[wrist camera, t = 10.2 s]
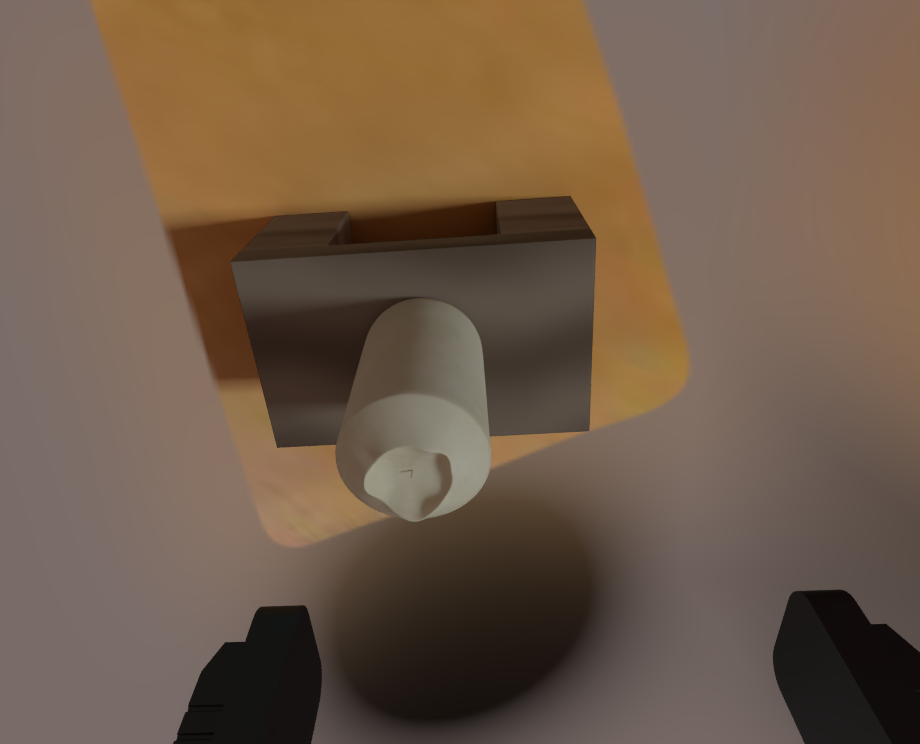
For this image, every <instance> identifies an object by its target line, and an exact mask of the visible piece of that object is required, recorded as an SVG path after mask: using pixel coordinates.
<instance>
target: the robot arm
mask: <svg viewBox="0 0 920 744" xmlns="http://www.w3.org/2000/svg"><path fill="white" fill-rule="evenodd" d="M773 665H774V671H775V676H776V680H777V683H778V686H779V688H780V691H781V693H782V695H783V697H784V700H785V702H786V704H787V706H788V708H789V710H790V712H791V715H792V717H793V719H794V721H795V723H796V726H797V728H798V730H799V732H800V734H801V736H802V738H803V741H804V743H805V744H920V652H919V651H918V650H916V649H915V648H914V647H913V646H912V645H910V644H909V643H908V642H907V641H906V640H905V639H903V638H902V637H901V636H900V635H899V634H897V633H896V632H895V631H894V630H893V629H892V628H890V627H889V626H888V625H887V624H870V622H869V621H868V619H867V618H866V616H865V614H864V613H863V611H862V610H861V608H860V607H859V606H858V604H857V602H856V601H855V600H854V598H853V597H852V596H851V595H850V594H849V593H848V592H846V591H844V590H817V591H816V590H814V591H795V592H793V593H792V594H791V595H790V597H789V600H788V603H787V607H786V610H785V613H784V616H783V620H782V623H781V626H780V630H779V633H778V636H777V639H776V643H775V646H774V650H773ZM321 686H322V668H321V660H320V657H319V652H318V648H317V645H316V641H315V636H314V632H313V629H312V625H311V621H310V617H309V613H308V610H307V608H306V606H304V605H299V606H270V607H260V608H259V609H258V610H257V611H256V613H255V615H254V618H253V621H252V624H251V626H250V629H249V632H248V635H247V638H246V641H245V642H225V643H224V645H223V646H222V647H221V648H220V649H219V651H218V652H217V653H216V654H215V656H214V657H213V658H212V659H211V661H210V662H209V663H208V664H207V665H206V667H205V668H204V669H203V670H202V672H201V674H200V676H199V679H198V682H197V684H196V687H195V689H194V692H193V695H192V697H191V700H190V702H189V705H188V712H186V713H185V715H184V717H183V720H182V723H181V725H180V728H179V730H178V733H177V735H178V736H177V740H176V741H174V743H173V744H311V741H312V736H313V731H314V727H315V722H316V717H317V712H318V707H319V702H320V695H321Z"/></svg>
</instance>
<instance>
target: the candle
mask: <svg viewBox="0 0 920 744" xmlns="http://www.w3.org/2000/svg"><path fill="white" fill-rule="evenodd" d="M336 463H337V468H338V471H339V474H340V476H341V478H342V480H343V482H344V483H345V485H346V486H347V488H348V489H349V490H350V491H351V492H352V493H353V494H354V495H355V496H356V497H357V498H358V499H359V500H360V501H362V502H363V503H365V504H366V505H368V506H369V507H371V508H373V509H375V510H377V511H379V512H382V513H385V514H388V515H391V516H395V517H400V518H404V519H406V520H409V521H412V522H415V521H420V520H423V519H425V518H430V517H436V516H440V515H443V514H446V513H449V512H451V511H454V510H456V509H458V508H459V507H461V506H463V505H464V504H466V503H467V502H468V501H470V500H471V499H472V498H473V497H474V496H475V495H476V494H477V493H478V492H479V490H480V489H481V487H482V486H483V485H484V483H485V481H486V479H487V476H488V474H489V470H490V465H491V448H490V435H489V423H488V410H487V398H486V386H485V373H484V361H483V351H482V345H481V340H480V337H479V334H478V332H477V330H476V328H475V326H474V325H473V323H472V322H471V321H470V319H469V318H468V317H467V316H466V315H465V314H464V313H463V312H462V311H460V310H459V309H458V308H456V307H454V306H453V305H451V304H448V303H446V302H443V301H440V300H437V299H431V298H414V299H409V300H405V301H402V302H399V303H397V304H395V305H393V306H391V307H390V308H388V309H386V310H385V311H384V312H383V313H382V314H381V315H380V316H379V317H378V318H377V319H376V321H375V322H374V323H373V325H372V326H371V328H370V330H369V332H368V335H367V338H366V341H365V344H364V348H363V351H362V355H361V358H360V362H359V365H358V369H357V372H356V376H355V379H354V383H353V386H352V390H351V394H350V397H349V401H348V404H347V408H346V411H345V415H344V418H343V422H342V425H341V429H340V433H339V436H338V440H337V444H336Z"/></svg>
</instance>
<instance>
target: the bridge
mask: <svg viewBox="0 0 920 744" xmlns="http://www.w3.org/2000/svg"><path fill="white" fill-rule="evenodd" d="M496 221H497V235H482V236H466V237H451V238H436V239H420V240H405V241H390V242H374V243H359V244H353V242H352V236H351V229H350V223H349V216H348V211H345V212H330V213H315V214H300V215H285V216H274V217H273V219H272V220H271V221H270V222H269V223H268V224H267V225H266V226H265V227H264V228H263V229H262V230H261V231H260V232H259V233H258V234H257V235H256V236H255V237H254V238H253V239H252V240H251V241H250V242H249V243H248V244H247V245H246V246H245V247H244V248H243V249H242V250H241V251H240V252H239V253H238V255H237V256H236V257H235V258H234V259H233V260H232V261H231V262H230V263H231V267H232V271H233V275H234V279H235V283H236V287H237V291H238V295H239V299H240V303H241V307H242V311H243V315H244V318H245V322H246V326H247V330H248V334H249V338H250V342H251V346H252V350H253V354H254V358H255V362H256V366H257V370H258V374H259V378H260V382H261V386H262V389H263V393H264V397H265V401H266V405H267V409H268V413H269V417H270V421H271V425H272V429H273V433H274V437H275V441H276V445H277V448H280V447H299V446H317V445H336V444H337V440H338V436H339V433H340V429H341V425H342V422H343V418H344V415H345V411H346V408H347V404H348V401H349V397H350V394H351V390H352V386H353V383H354V379H355V376H356V372H357V369H358V365H359V362H360V358H361V355H362V351H363V348H364V344H365V341H366V338H367V335H368V332H369V330H370V328H371V326H372V325H373V323H374V322H375V321H376V319H377V318H378V317H379V316H380V315H381V314H382V313H383V312H384V311H385V310H386V309H388V308H390V307H391V306H393V305H395V304H397V303H399V302H402V301H405V300H409V299H414V298H431V299H437V300H440V301H443V302H446V303H448V304H451V305H453V306H454V307H456V308H458V309H459V310H460V311H462V312H463V313H464V314H465V315H466V316H467V317H468V318H469V319H470V321H471V322H472V323H473V325H474V326H475V328H476V330H477V332H478V334H479V337H480V340H481V345H482V351H483V361H484V373H485V386H486V398H487V410H488V423H489V435H490V436H506V435H525V434H544V433H563V432H582V431H589V425H590V397H591V369H592V341H593V313H594V285H595V257H596V237H595V236H594V234H593V232H592V231H591V229H590V227H589V226H588V224H587V222H586V221H585V219H584V218H583V216H582V214H581V213H580V211H579V209H578V208H577V206H576V204H575V203H574V201H573V199H572V198H571V196H568V197H553V198H538V199H523V200H508V201H496Z"/></svg>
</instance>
